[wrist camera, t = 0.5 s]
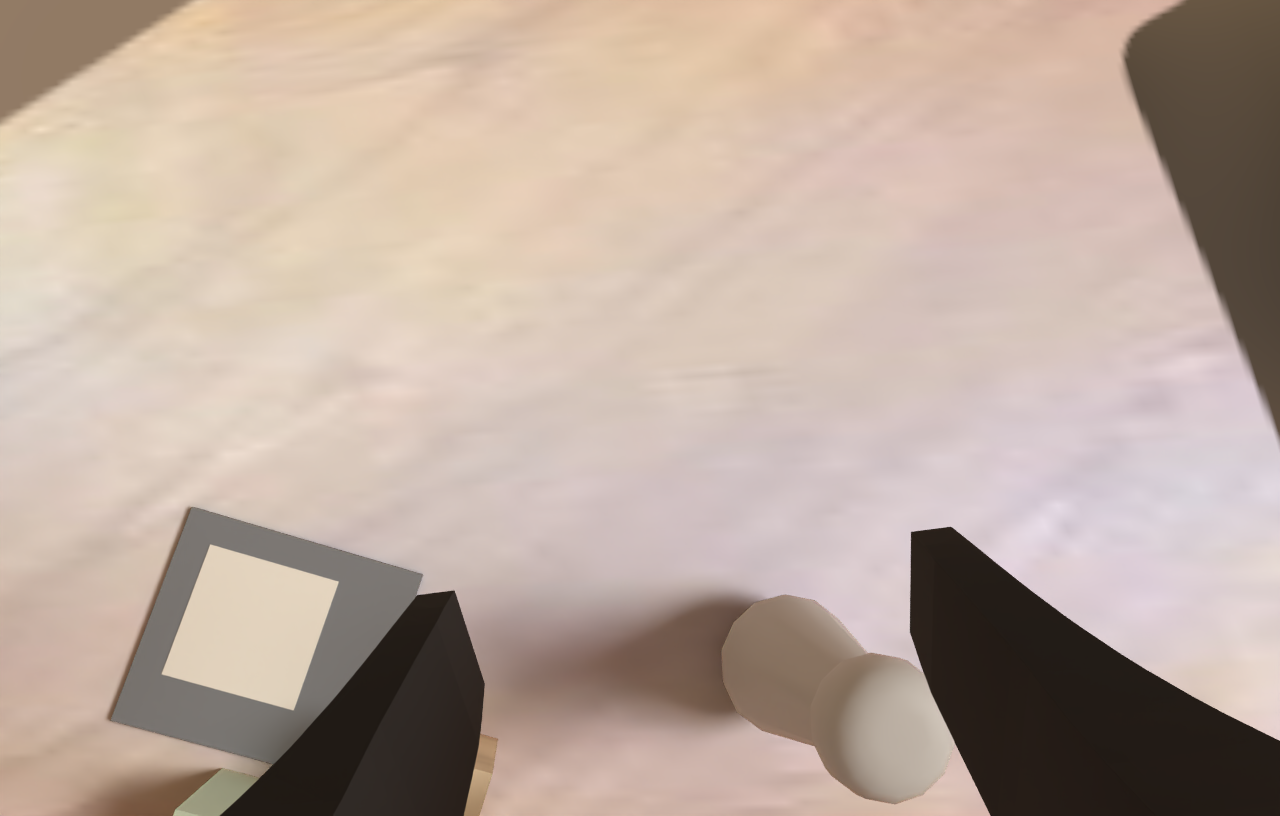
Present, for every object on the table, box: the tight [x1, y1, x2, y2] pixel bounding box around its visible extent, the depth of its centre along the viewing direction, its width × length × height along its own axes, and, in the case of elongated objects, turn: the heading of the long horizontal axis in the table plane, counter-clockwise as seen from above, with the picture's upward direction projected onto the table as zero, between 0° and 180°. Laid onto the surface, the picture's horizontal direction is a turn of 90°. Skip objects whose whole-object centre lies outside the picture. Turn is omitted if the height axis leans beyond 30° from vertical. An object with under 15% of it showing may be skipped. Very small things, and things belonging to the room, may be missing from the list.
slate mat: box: [110, 507, 423, 764], centre depth 34 cm, size 9×10×1 cm
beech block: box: [464, 734, 498, 816], centre depth 32 cm, size 4×4×4 cm
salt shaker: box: [721, 595, 955, 804], centre depth 30 cm, size 6×6×13 cm
